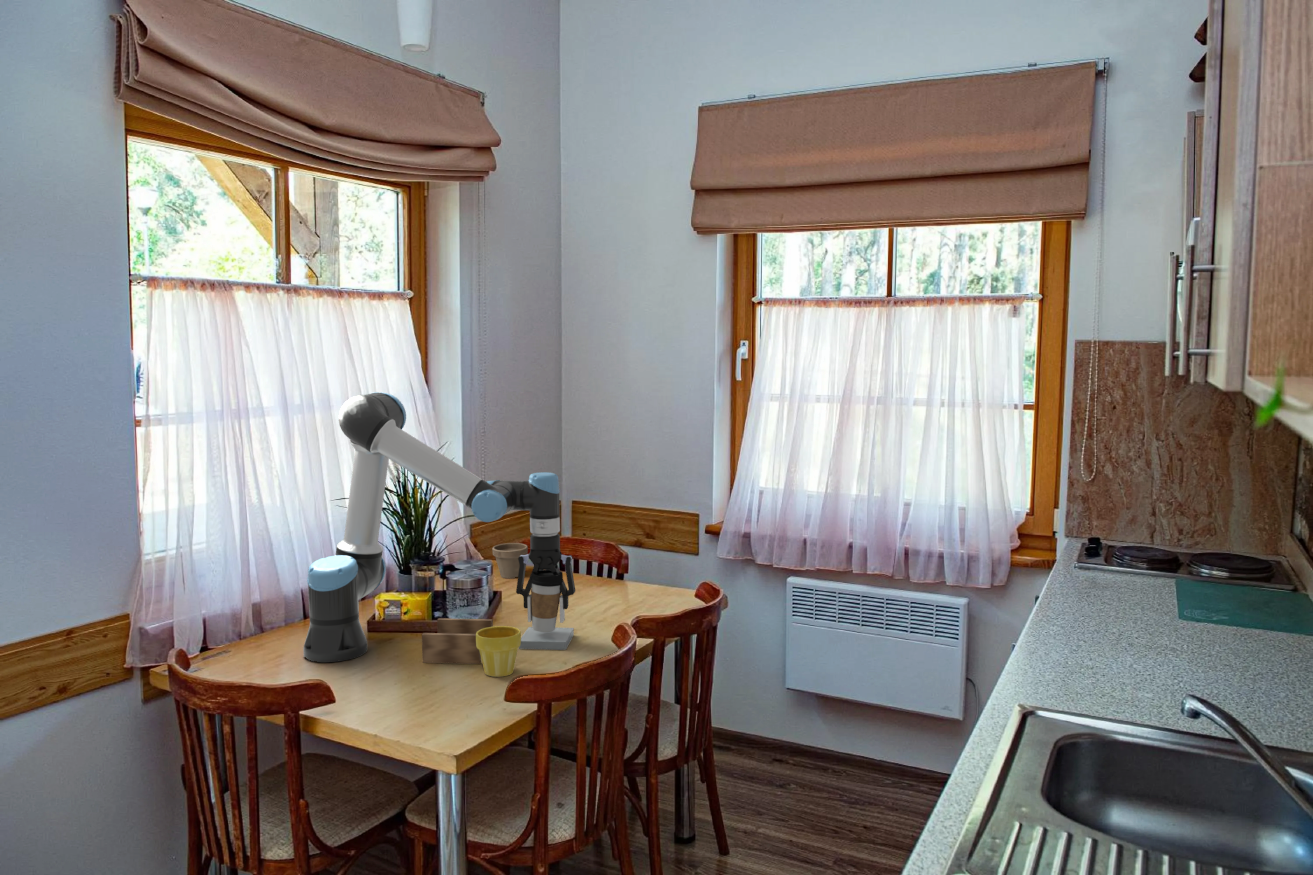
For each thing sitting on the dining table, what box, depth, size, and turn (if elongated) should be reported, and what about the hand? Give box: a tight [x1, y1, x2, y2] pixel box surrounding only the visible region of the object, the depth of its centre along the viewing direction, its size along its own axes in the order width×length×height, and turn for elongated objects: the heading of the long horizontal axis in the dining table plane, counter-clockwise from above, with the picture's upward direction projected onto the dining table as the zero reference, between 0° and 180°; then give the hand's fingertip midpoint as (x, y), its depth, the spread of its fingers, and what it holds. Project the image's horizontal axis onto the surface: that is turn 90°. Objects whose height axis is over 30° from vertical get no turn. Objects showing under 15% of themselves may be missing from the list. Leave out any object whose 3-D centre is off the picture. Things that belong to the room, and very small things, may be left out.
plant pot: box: [476, 625, 522, 678], centre depth 223 cm, size 10×10×10 cm
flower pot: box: [492, 542, 529, 579], centre depth 314 cm, size 12×11×10 cm
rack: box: [421, 617, 494, 665], centre depth 237 cm, size 14×13×7 cm
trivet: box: [518, 626, 575, 651], centre depth 246 cm, size 12×12×2 cm
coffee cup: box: [530, 569, 564, 632], centre depth 245 cm, size 8×8×15 cm
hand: (546, 620), depth 246 cm, fingers closed on coffee cup, 8 cm apart
